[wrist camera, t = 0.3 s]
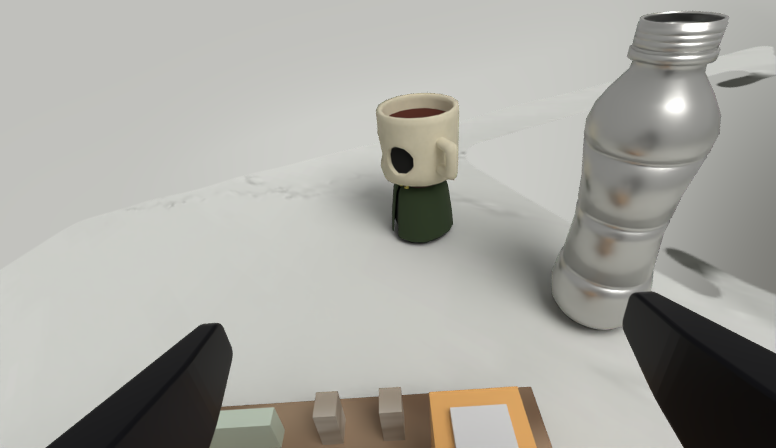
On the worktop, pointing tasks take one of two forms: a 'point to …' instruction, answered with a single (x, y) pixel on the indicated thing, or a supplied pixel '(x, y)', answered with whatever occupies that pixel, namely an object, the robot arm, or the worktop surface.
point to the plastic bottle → (639, 164)
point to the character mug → (420, 161)
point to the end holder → (248, 429)
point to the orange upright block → (479, 419)
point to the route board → (372, 420)
